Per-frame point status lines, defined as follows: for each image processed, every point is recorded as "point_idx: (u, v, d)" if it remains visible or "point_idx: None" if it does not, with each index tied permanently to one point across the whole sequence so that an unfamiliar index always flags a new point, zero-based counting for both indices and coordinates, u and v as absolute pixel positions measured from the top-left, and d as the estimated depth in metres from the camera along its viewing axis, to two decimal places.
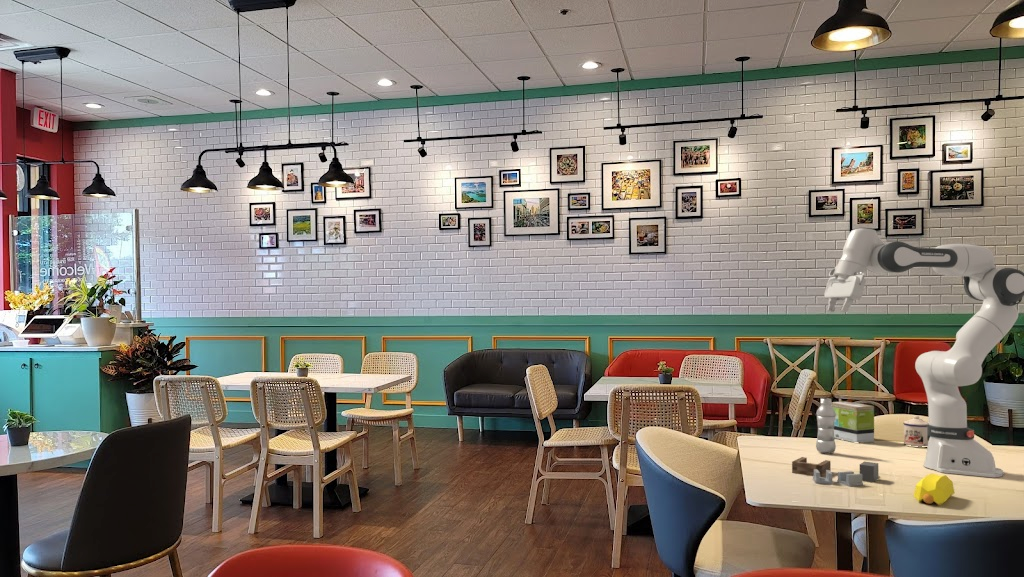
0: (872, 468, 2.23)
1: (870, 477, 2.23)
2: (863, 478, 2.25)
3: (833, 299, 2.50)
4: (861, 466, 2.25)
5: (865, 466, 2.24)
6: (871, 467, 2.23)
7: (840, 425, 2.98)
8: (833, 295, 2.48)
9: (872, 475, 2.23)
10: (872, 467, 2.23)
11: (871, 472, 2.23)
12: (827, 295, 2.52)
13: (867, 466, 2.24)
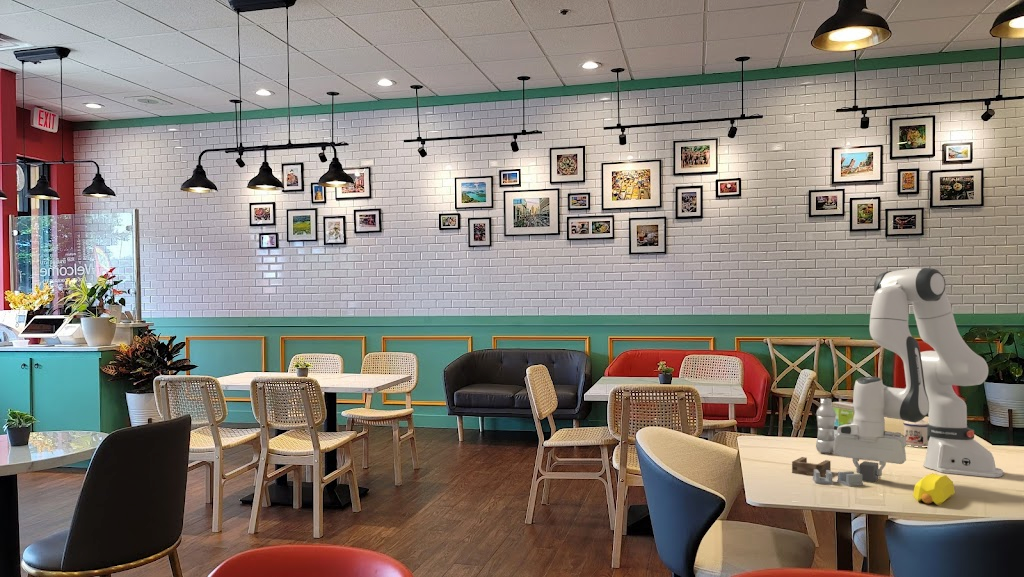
0: (872, 468, 2.23)
1: (870, 476, 2.23)
2: (863, 478, 2.25)
3: (857, 458, 2.28)
4: (861, 466, 2.25)
5: (865, 466, 2.24)
6: (871, 467, 2.23)
7: (840, 425, 2.98)
8: (858, 457, 2.27)
9: (872, 475, 2.23)
10: (872, 467, 2.23)
11: (871, 472, 2.23)
12: (843, 454, 2.30)
13: (867, 466, 2.24)
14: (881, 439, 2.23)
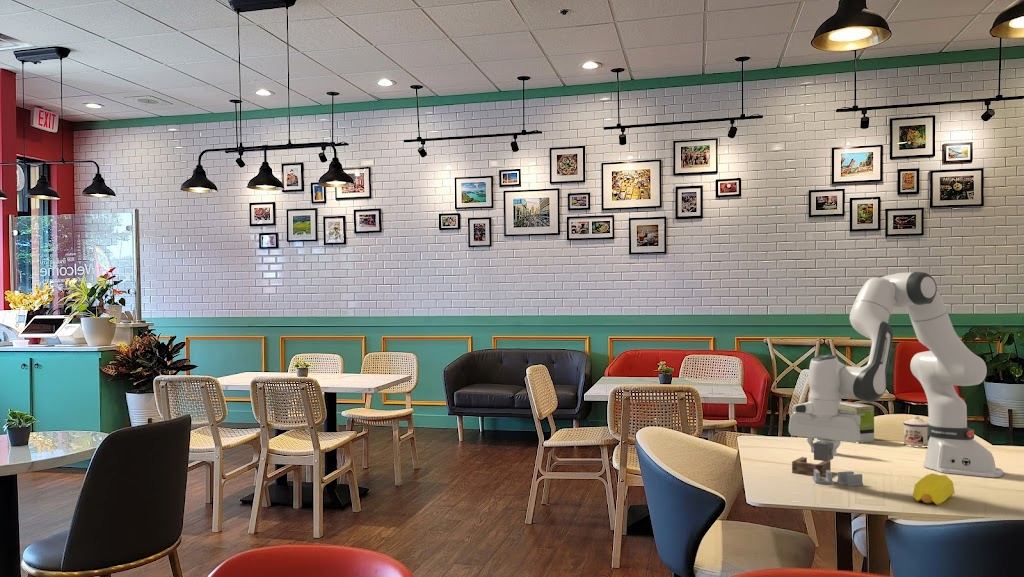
0: (826, 447, 2.19)
1: (824, 455, 2.20)
2: (817, 457, 2.21)
3: (812, 438, 2.25)
4: (815, 445, 2.21)
5: (819, 445, 2.20)
6: (825, 446, 2.19)
7: None
8: (813, 436, 2.23)
9: (826, 454, 2.19)
10: (826, 446, 2.19)
11: (825, 451, 2.19)
12: (798, 434, 2.26)
13: (821, 445, 2.20)
14: (835, 418, 2.19)
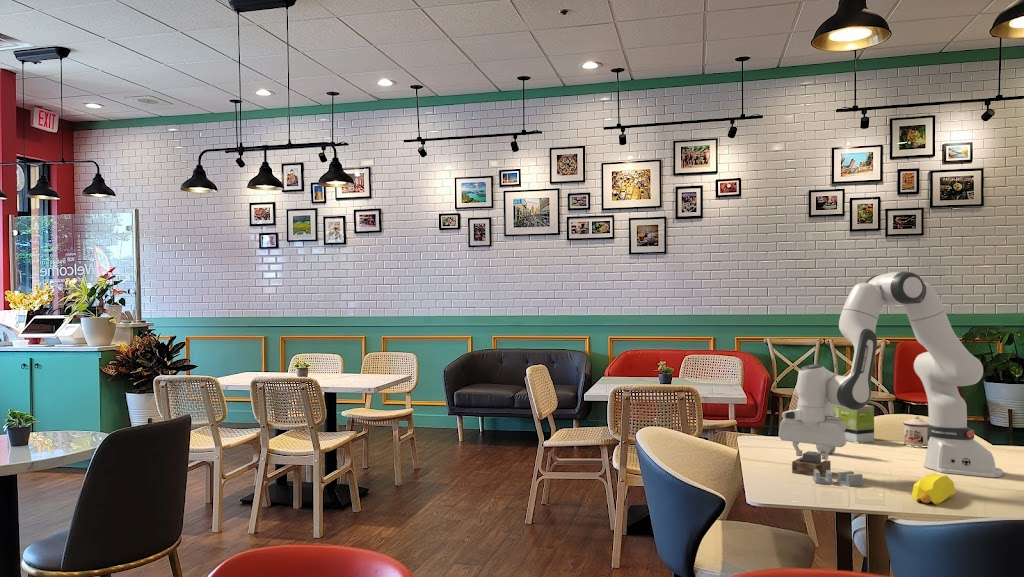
0: (814, 457, 2.33)
1: None
2: None
3: (797, 442, 2.40)
4: (804, 455, 2.35)
5: (808, 455, 2.35)
6: (813, 456, 2.34)
7: None
8: (802, 441, 2.37)
9: None
10: (814, 456, 2.33)
11: (813, 461, 2.34)
12: (788, 439, 2.40)
13: (809, 455, 2.34)
14: (822, 424, 2.33)
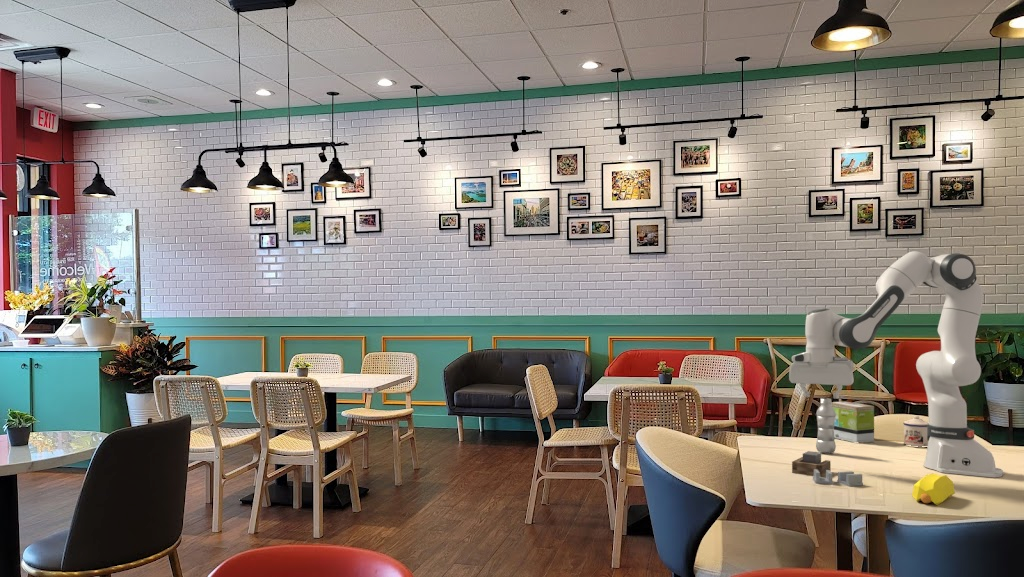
0: (814, 457, 2.33)
1: None
2: None
3: None
4: (804, 455, 2.35)
5: (808, 455, 2.35)
6: (813, 456, 2.34)
7: (840, 425, 2.98)
8: (811, 382, 2.47)
9: None
10: (814, 456, 2.33)
11: (813, 461, 2.34)
12: (797, 381, 2.50)
13: (809, 455, 2.34)
14: (831, 364, 2.44)
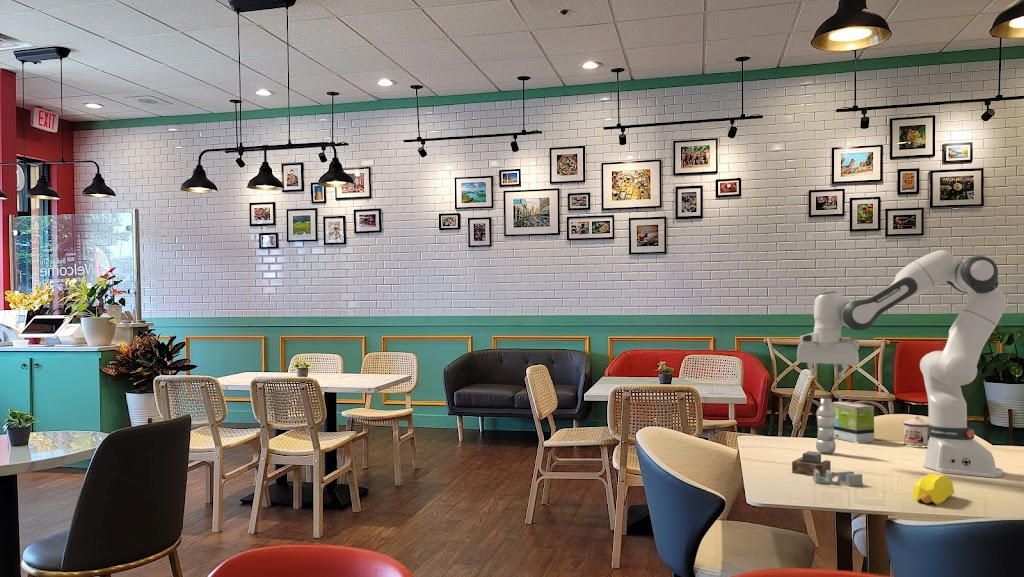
0: (814, 457, 2.33)
1: None
2: None
3: (812, 363, 2.61)
4: (804, 455, 2.35)
5: (808, 455, 2.35)
6: (813, 456, 2.34)
7: (840, 425, 2.98)
8: (818, 361, 2.58)
9: None
10: (814, 456, 2.33)
11: (813, 461, 2.34)
12: (805, 360, 2.61)
13: (809, 455, 2.34)
14: (837, 344, 2.54)
